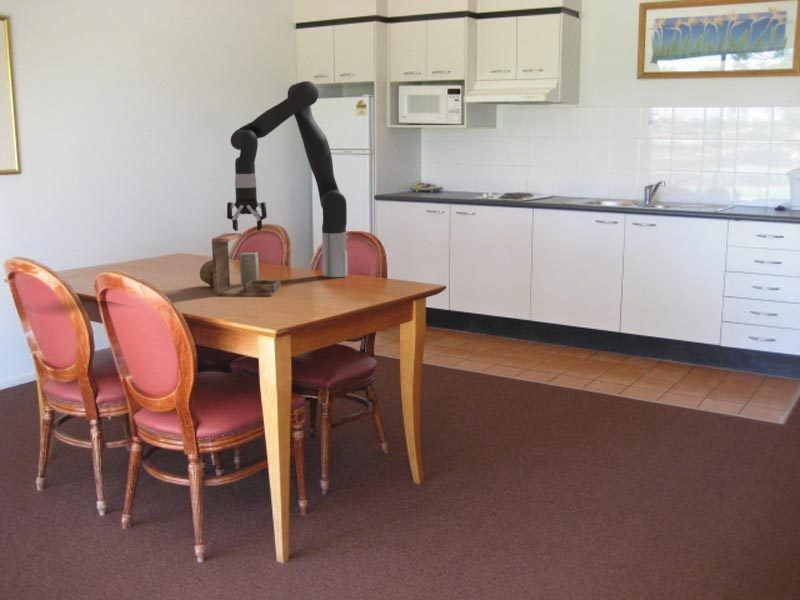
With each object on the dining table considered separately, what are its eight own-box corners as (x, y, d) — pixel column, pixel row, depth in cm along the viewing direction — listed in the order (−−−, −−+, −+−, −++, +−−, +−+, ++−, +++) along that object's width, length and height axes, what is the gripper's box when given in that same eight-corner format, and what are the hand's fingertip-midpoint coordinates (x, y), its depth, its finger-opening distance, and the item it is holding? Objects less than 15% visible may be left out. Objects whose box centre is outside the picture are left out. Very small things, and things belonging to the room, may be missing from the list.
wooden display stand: (282, 288, 320) (280, 233, 317) (272, 296, 305) (270, 238, 301) (227, 288, 322) (224, 233, 318) (214, 296, 306) (211, 238, 303)
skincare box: (260, 284, 329) (258, 252, 327) (257, 286, 325) (255, 253, 323) (243, 284, 330) (242, 252, 328) (240, 286, 326) (238, 253, 323)
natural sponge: (213, 290, 319) (211, 262, 317) (195, 288, 323) (193, 261, 321) (230, 286, 326) (229, 259, 324) (212, 284, 331) (211, 257, 329)
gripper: (267, 185, 324) (269, 229, 327) (229, 185, 325) (231, 229, 328) (262, 186, 317) (263, 232, 320) (223, 186, 318) (225, 231, 321)
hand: (247, 230), depth 324 cm, fingers open, 8 cm apart
